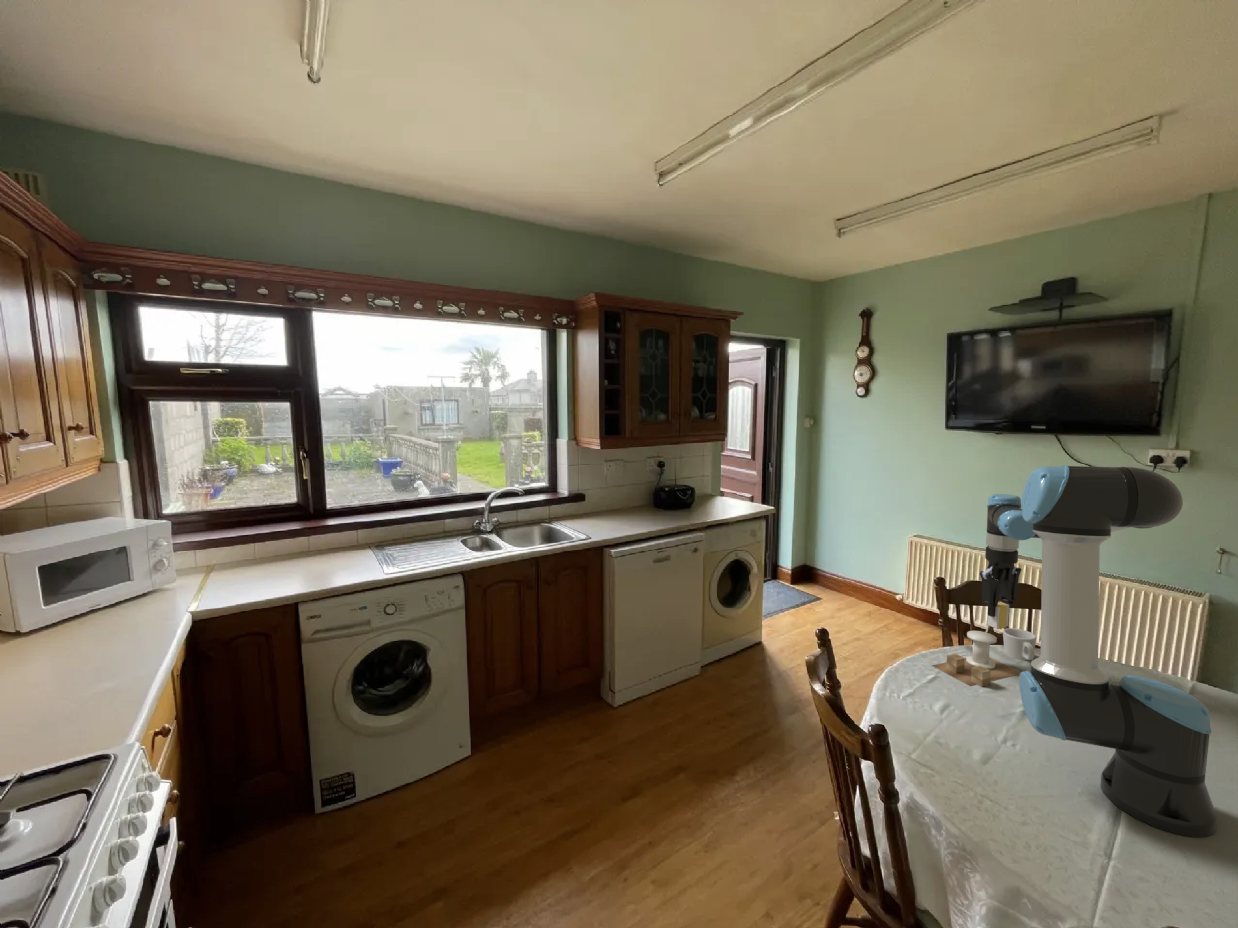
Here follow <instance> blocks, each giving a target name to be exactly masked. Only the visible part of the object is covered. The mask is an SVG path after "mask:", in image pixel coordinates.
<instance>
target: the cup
mask: <svg viewBox="0 0 1238 928" xmlns="http://www.w3.org/2000/svg"><path fill="white" fill-rule="evenodd" d="M1002 637H1003V650H1004V654H1005V655H1006V656H1008V657H1010V658H1012V659H1016V660H1021V661H1033V660H1034V659H1035V648H1036V645H1037V644H1036V642H1037V636H1036V634H1035V633H1032V632H1030V631H1028V630H1024V629H1021V628H1014V627H1010V628H1007V627H1006V628H1003V630H1002Z"/></svg>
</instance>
